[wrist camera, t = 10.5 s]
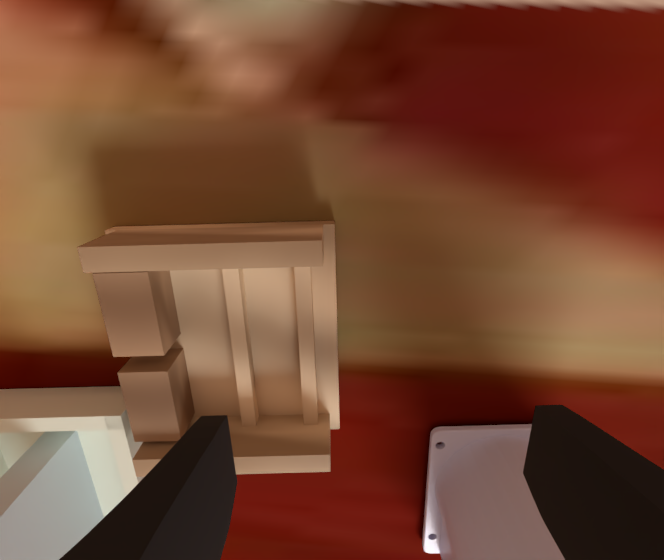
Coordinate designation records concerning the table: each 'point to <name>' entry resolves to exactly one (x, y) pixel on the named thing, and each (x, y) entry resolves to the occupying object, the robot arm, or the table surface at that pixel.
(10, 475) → the block
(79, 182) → the table surface
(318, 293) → the rack
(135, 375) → the offcut
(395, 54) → the table surface
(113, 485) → the tray
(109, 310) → the offcut
